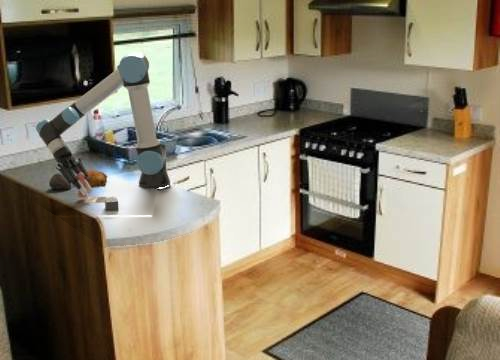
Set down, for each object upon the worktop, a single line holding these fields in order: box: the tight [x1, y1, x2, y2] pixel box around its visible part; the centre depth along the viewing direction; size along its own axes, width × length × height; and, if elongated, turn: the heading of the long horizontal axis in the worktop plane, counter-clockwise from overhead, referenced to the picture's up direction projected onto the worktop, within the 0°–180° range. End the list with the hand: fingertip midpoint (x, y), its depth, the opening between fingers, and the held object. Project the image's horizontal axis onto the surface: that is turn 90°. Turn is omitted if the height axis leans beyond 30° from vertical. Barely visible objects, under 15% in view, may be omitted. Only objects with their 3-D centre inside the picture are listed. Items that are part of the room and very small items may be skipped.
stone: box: [49, 173, 72, 190], centre depth 293 cm, size 10×8×10 cm
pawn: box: [76, 173, 87, 198], centre depth 273 cm, size 4×4×11 cm
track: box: [76, 196, 117, 204], centre depth 275 cm, size 16×8×1 cm, turn 94°
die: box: [104, 197, 119, 212], centre depth 263 cm, size 5×5×5 cm
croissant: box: [75, 169, 108, 188], centre depth 301 cm, size 14×16×8 cm
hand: (88, 192), depth 272 cm, fingers closed on pawn, 2 cm apart
